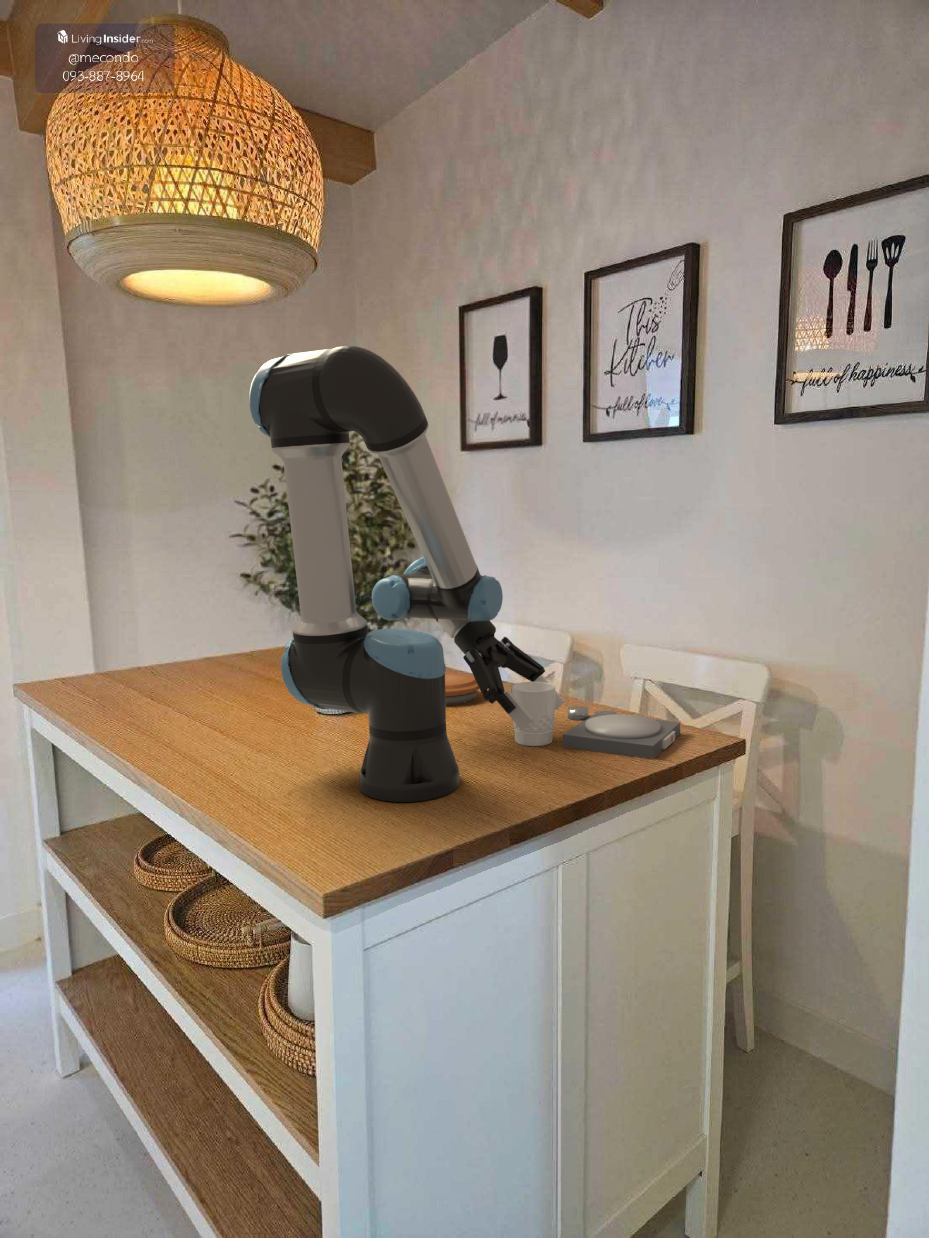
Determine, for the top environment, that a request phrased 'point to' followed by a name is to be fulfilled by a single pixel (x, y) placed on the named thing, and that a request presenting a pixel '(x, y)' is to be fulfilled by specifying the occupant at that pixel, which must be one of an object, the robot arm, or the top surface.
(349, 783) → the top surface
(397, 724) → the robot arm
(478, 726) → the top surface
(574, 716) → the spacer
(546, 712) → the white cup
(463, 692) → the pie
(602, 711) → the cylinder
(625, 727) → the scale
